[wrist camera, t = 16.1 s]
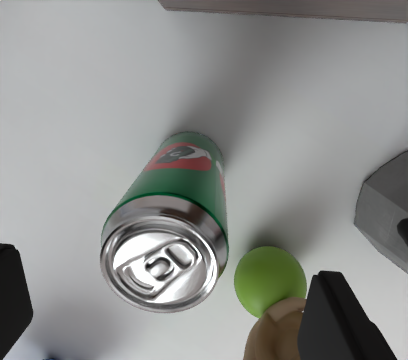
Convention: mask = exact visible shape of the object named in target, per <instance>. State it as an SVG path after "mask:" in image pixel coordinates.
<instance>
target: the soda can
mask: <svg viewBox="0 0 408 360" xmlns="http://www.w3.org/2000/svg"><path fill="white" fill-rule="evenodd" d="M101 247H102V249H101V254H100V265H101V270H102V273H103V276H104V278H105V280H106V282H107V284H108V285H109V287H110V288H111V289H112V290H113V291H114V292H115V293H116V294H117V295H118V296H119V297H120V298H121V299H123V300H124V301H126V302H127V303H129V304H131V305H133V306H135V307H137V308H139V309H143V310H146V311H150V312H156V313H175V312H180V311H184V310H187V309H190V308H192V307H194V306H196V305H198V304H199V303H201V302H202V301H204V300H205V299H206V298H207V297H208V296H209V295H210V293H211V292H212V291H213V289H214V287H215V285H216V283H217V280H218V279H219V277H220V276H221V275H222V273H223V271H224V269H225V267H226V264H227V260H228V253H229V244H228V228H227V212H226V196H225V180H224V164H223V158H222V154H221V152H220V150H219V149H218V147H217V146H216V144H215V143H214V142H213V141H212V140H210V139H209V138H207V137H206V136H204V135H201V134H199V133H194V132H182V133H178V134H175V135H173V136H171V137H169V138H168V139H167V140H165V141H164V142H163V144H162V145H161V146H160V148H159V149H158V150H157V152H156V153H155V154H154V156H153V157H152V158H151V160H150V161H149V162H148V164H147V165H146V166H145V168H144V169H143V171H142V172H141V173H140V175H139V176H138V177H137V179H136V180H135V181H134V183H133V184H132V185H131V187H130V188H129V189H128V191H127V192H126V193H125V195H124V196H123V198H122V199H121V200H120V202H119V203H118V204H117V206H116V207H115V208H114V210H113V211H112V212H111V214H110V215H109V216H108V218H107V220H106V222H105V224H104V226H103V230H102V234H101Z"/></svg>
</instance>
